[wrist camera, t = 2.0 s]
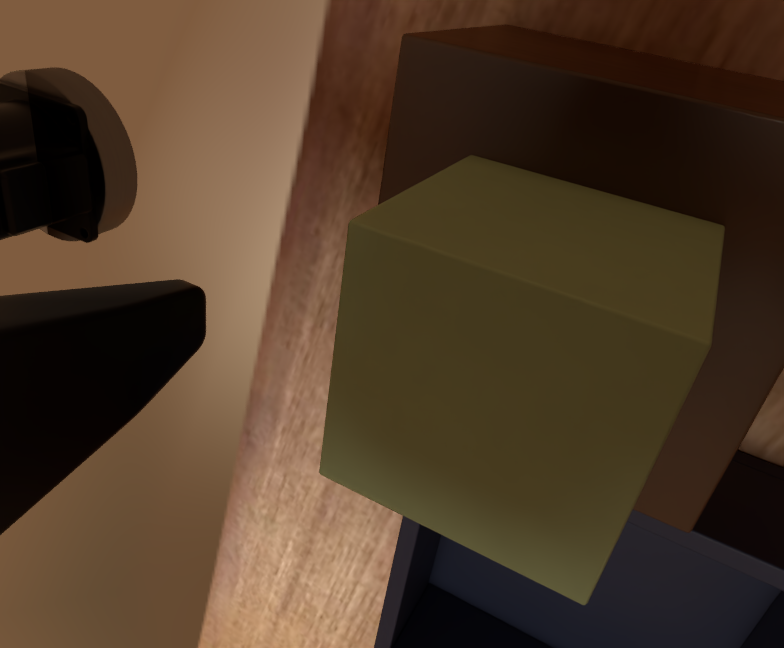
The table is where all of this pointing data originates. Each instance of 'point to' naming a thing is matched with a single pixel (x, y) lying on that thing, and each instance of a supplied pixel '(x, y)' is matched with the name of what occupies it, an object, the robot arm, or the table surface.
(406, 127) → the stand
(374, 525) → the table surface
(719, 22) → the table surface
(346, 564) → the table surface
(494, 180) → the sage block
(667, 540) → the navy bin
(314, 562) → the table surface
